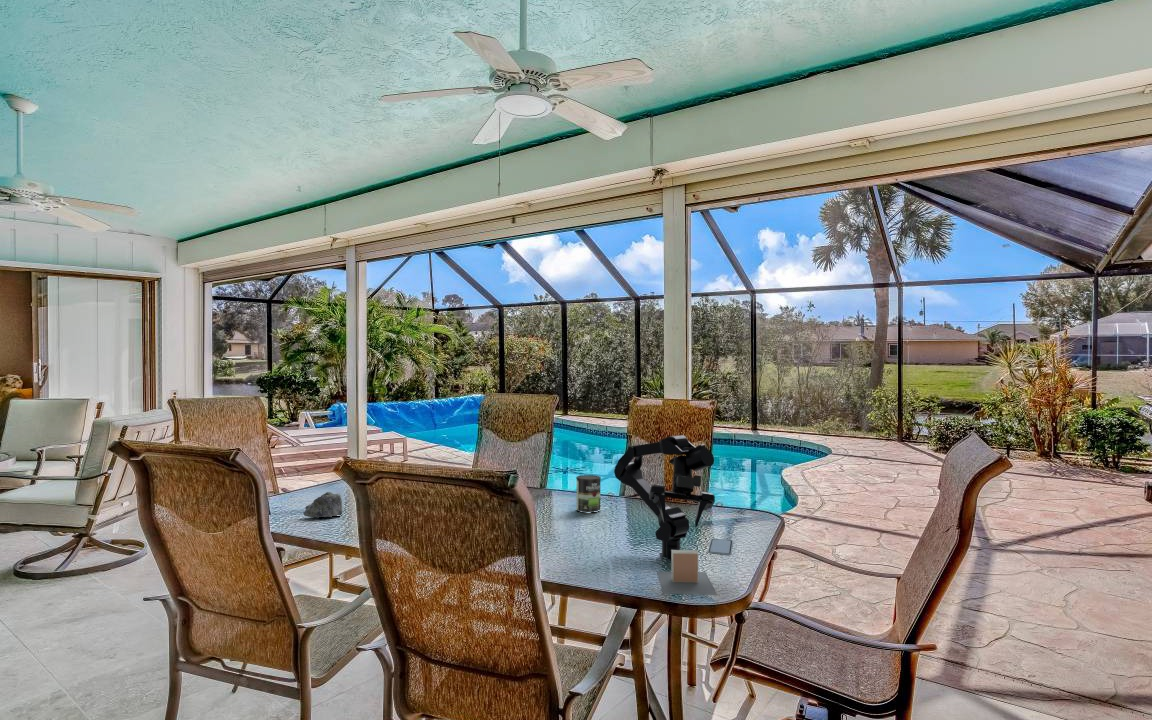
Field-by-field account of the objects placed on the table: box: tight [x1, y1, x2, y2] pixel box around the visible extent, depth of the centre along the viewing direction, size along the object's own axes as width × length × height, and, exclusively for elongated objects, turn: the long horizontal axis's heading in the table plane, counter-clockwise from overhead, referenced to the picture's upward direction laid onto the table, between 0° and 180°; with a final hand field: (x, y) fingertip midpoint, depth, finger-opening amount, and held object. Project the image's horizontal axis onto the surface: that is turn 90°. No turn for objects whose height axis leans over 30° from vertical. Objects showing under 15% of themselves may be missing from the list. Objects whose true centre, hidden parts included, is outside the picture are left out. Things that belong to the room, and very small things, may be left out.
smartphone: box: [707, 538, 734, 556], centre depth 192 cm, size 7×1×15 cm
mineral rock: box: [303, 491, 344, 518], centre depth 230 cm, size 13×11×10 cm
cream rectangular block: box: [670, 549, 699, 583], centre depth 159 cm, size 3×7×8 cm, turn 88°
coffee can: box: [575, 474, 602, 512], centre depth 242 cm, size 10×10×14 cm
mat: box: [656, 570, 718, 596], centre depth 158 cm, size 16×14×1 cm
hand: (680, 524), depth 167 cm, fingers open, 9 cm apart
